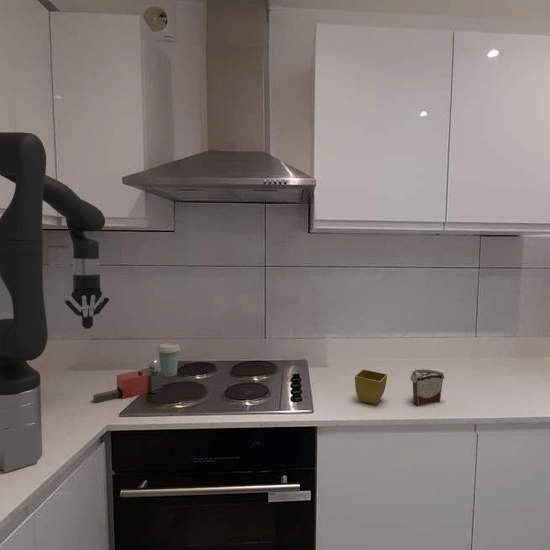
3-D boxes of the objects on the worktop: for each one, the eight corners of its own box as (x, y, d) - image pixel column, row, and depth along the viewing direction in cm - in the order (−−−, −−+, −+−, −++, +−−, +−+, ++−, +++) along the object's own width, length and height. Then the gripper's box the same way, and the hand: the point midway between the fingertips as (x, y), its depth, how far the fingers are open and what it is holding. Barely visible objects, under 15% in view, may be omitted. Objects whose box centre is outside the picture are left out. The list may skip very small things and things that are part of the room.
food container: (429, 395, 126) (430, 367, 126) (443, 402, 120) (444, 372, 120) (401, 399, 122) (402, 371, 121) (414, 407, 116) (415, 377, 115)
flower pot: (387, 399, 122) (387, 373, 121) (379, 408, 114) (380, 381, 114) (361, 393, 126) (362, 369, 126) (353, 402, 119) (354, 376, 119)
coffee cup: (184, 374, 144) (184, 345, 143) (165, 380, 138) (165, 349, 137) (172, 369, 150) (172, 341, 149) (153, 374, 143) (153, 345, 142)
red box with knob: (149, 392, 125) (149, 372, 125) (123, 399, 119) (122, 377, 119) (142, 387, 130) (142, 367, 129) (116, 393, 124) (116, 372, 124)
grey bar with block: (165, 390, 127) (165, 361, 126) (98, 407, 113) (97, 374, 112) (154, 382, 135) (154, 354, 134) (90, 397, 120) (89, 366, 120)
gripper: (64, 274, 104) (65, 333, 105) (112, 273, 113) (113, 327, 114) (59, 273, 110) (61, 328, 111) (105, 272, 118) (106, 324, 119)
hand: (87, 328), depth 112 cm, fingers closed
